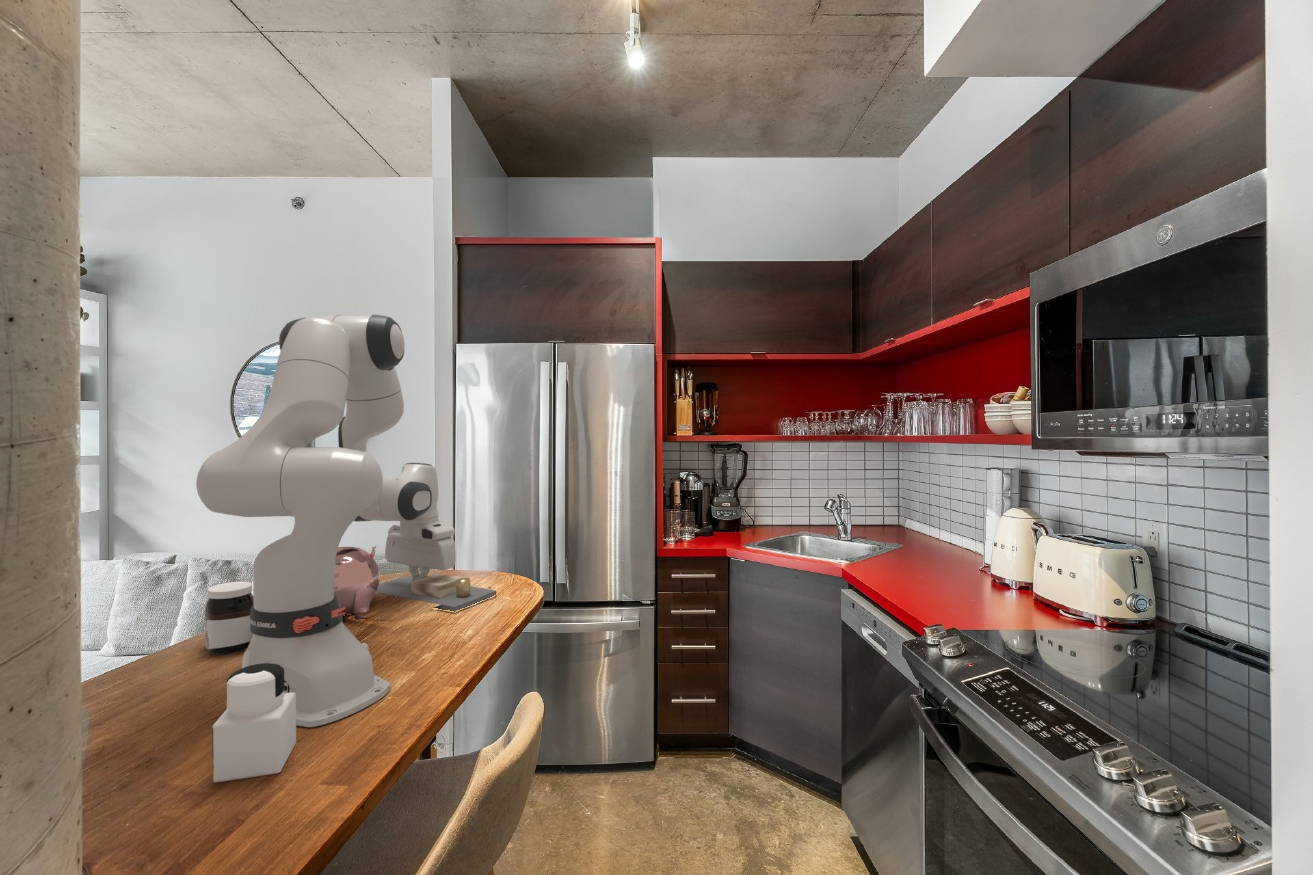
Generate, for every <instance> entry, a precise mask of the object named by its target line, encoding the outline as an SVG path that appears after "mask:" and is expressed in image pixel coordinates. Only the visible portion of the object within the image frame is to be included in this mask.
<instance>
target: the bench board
mask: <svg viewBox="0 0 1313 875" xmlns="http://www.w3.org/2000/svg"><path fill="white" fill-rule="evenodd" d="M411 581H413V576H412V575H404V576H402V577H397V578H396V579H395V578H394V579H391V580H388V581H384V582H382V583H379V586H378V589H377V591H376V593H378V594H384V595H389V596H395V597H400V598H404V599H405V598H406V599H410V600H416V601H420V602H425V603H431V604H436V606H434V607H432V608H438V609H442V610H450V611H454V612H455V611H456V610H460V609H462V608H465V607H467V606H470V605H472V604H475V603H477V602H480V601H482V600H485V599H487V598H490V597H492V596H494V595H496V596H497V590H494V589H489V588H483V587H476V586H472V585H470V597H467V598H457V597H456V593H453V594H450V595H448V596H445V597H442V598H435V597H429V596H423V595H418V594H412V593H411Z"/></svg>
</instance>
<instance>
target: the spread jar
mask: <svg viewBox="0 0 1313 875" xmlns="http://www.w3.org/2000/svg"><path fill="white" fill-rule="evenodd" d="M252 592H253V582H250V581H230V582H225V583H220V584H216V585H213V586H210V587H208V588H207V598H208V599H207V600H206V604H205V607H204V608H205V609H204V630H205V632H204V638H205V642H204V643H205V644H204V645H205V649H206V651H207V653H209V654H210V655H228V654H233V653H238V652H241V651H245V650H247V648H248V646H249V644H250V641H251V639H252V636H253V633H252V632H251V631H250V622H249V616H250V609H251V607H252V606H253V605H254V602H253V593H252Z"/></svg>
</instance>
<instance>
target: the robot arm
mask: <svg viewBox="0 0 1313 875" xmlns="http://www.w3.org/2000/svg"><path fill="white" fill-rule="evenodd" d="M278 338H279V339H278V341H279V342H278V345H279V350H280V352H279V355H278V357H277V358H278V359H277V362H276V367H275V370H274V374H273V379H272V380H273V381H272V384H271V388H270V392H269V394H268V397H267V401H266V404H265V406H264V409H263V411H262V413H261V414H260V416H259V417H258V419H257V420H256V421H255V423H253V424H252V426H251V427H250V428H249V429H248V430H247V431H246V432H245V433H244V434H243V435H242V436H241V437H239V438H238V439H236V440H235V441H234V442H232V443H231V444H228V445H227V446H226V447H224V448H222V449H220V450H218V451H215V452H214V453H212V454H210V455H209V456H208V458H206V460H204V461H203V463H202V465H201V466H200V467H199V470H198V473H197V475H196V483H195V484H196V490H197V494H198V496H199V499H200V501H201V503H202V504H203V505H204V506H205V508H207V509H208V511H211V512H213V513H217V514H223V515H227V516H228V515H229V516H234V517H235V516H236V517H242V518H263V517H266V518H267V517H268V518H269V517H292V518H293V517H294V524H293V529H292V532H291V533H290V534H287V535H285V536H283V537H281V538H279V539H277V540H275V541H274V542H271V543H269V544H268V545H267V546H265V547H264V548H262V549H261V550H260V551H259V552H258V554H257V555H256V557H255V559H254V561H253V564H252V576H253V577H252V578H253V579H252V580H253V581H252V592H253V593H252V595H253V602H254V605H253V606H252V607H251V609H250V616H249V622H250V631H251V632H252V633H253V636H252V639H251V641H250V644H249V646H248V648H247V649H245V650H244V654H243V656H242V665H241V669H242V668H244V667H247V666H251V665H255V664H261V663H271V664H278V665H280V666H282V667H283V668H284V693H292V692H294V693H295V694H296V726H298V727H305V728H315V727H319V726H323V725H326V724H330V723H332V722H336V721H339V720H342V719H343V718H345V717H346V718H347V717H348V716H351V715H353V714H355V713H357V712H359V711H361V710H363V709H365V708H367V707H370V706H371V705H373V704H374V703H376V702H377V701H379V700H380V699H381V698H383V697H384V696H386V695H387V694H388V693H389V692H390V690H391V683H390V681H388V680H386V679H384V678H382V677H380V676H379V675H376V674H374V673H375V672H374V671H375V670H374V662H373V658H372V655H371V653H370V648H369V645H368V644H367V643H366V642H360V641H359V639H358V638H357V637H356V636H355V635H354V633H352V632H351V631H350V630H349V628H347V626H346V625H345V623H343V619H344V618H343V616H345V615H344V614H346V613H341V611H343V610H344V609H346V608H345V607H343V608H340V604H339V603H338V600H337V597H336V596H335V595H334V579H335V563H336V554H337V549H338V547H340V542H341V540H342V538H343V536H344V534H345V533H346V532H347V530H348V528H349V526H351V524H352V523H353V522H359V523H360V522H372V521H374V522H375V521H379V522H399V524H398V525H397V524H394V525H392V526H390V528H389V529H388V531H387V537H386V542H385V551H384V559H385V560H386V562H387V563H394V564H398V565H406V566H408V570H409V573H410V576H412V577H413V580H416V579H419V578H422V577H426V576H429V575H428V574H429V573H430V570H431V569H432V570H437V571H446V570H450V569H453V567H454V566H455V565H456V559H457V557H456V554H457V553H456V542H455V540H454V538H453V537H454V536H455V528H454V527H453V526H452V525H449V524H448V523H446V522H445V521H442V520H441V519H439V511H438V508H437V505H438V500H439V480H438V474H437V470H436V466H434V465H432V464H430V463H425V462H424V463H422V462H407V463H403V465H402V468H401V473H400V475H398V476H397V477H395V478H392V479H387V478H386V479H384V478H383V472H382V471H383V470H382V469H381V466H380V464H379V463H378V461H377V459H376V458H374V456H373V455H372V454H371V453H370V452H368V451H367V443H368V441H369V439H371V438H374V437H376V436H379V435H381V434H383V433H385V432H387V431H389V430H390V429H392V428H394V427H395V426H396V425H397V424H398V423H399V422H400V420H401V419H402V416H403V415H404V411H405V403H404V397H403V393H402V387H401V384H400V380H399V379H400V378H399V375H398V373H397V369H396V367H397V366H398V365H399V364H400V362H401V361H402V360H403V358H404V355H405V344H406V343H405V337H404V334H403V332H402V328H401V327H400V325H399V324H398V322H396V321H395V320H394V319H393V318H392V317H390V316H388V315H387V316H386V315H379V314H371V315H354V314H352V315H351V314H349V315H348V314H346V315H342V314H332V315H330V314H329V315H324V316H323V315H321V316H310V317H300V318H297V319H294V320H291V321H289V322H287V323H286V324H285V325H284V327H283V328H282V329H281V331H280V332H279V337H278ZM345 408H346V412H345ZM344 415H345V416H344ZM337 427H338V431H337V432H338V433H337V436H338V437H337V438H338V439H337V441H338V446H335V447H334V446H332V447H331V446H329V447H328V446H325V447H323V446H322V447H321V446H318V447H317V446H316V447H313V446H311V447H307V445H308V444H310V443H312V441H314V440H316V439H318V438H319V437H322V436H324V435H327V434H329V433H330V432H332V431H334V430H335V429H336V428H337ZM342 615H343V616H342Z"/></svg>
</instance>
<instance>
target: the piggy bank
mask: <svg viewBox="0 0 1313 875" xmlns="http://www.w3.org/2000/svg"><path fill="white" fill-rule="evenodd" d="M375 549H377V545H375V546H372V547H371V552H370V553H369V552H368V551H366V550H365V549H364V548H363V549H362V548H360V547H354V546H338V549H337V554H336V563H335V579H334V595H335V596H336V597H337V600H338V603H339V604H340V608H343V607H345V608H346V609H344V610H343V611H341V613H346V614H344V615H342V617H343V616H346V615H350V614H353V618H354V619H355V620H358V621H359V620H364V619H365V620H366V619H368V618H369V616H365V615H361V614H362V613H367V612H368V611H370V610H371V609H370V604H371V602H372V600H373V598H374V597H375V595H376V593H377V592H376V591H377V589H378V586H379V584H380V580H381V575H380V574H381V573H380V569H379V566H378V563H377V562H376V560H375V558H374V557H375V555H376V550H375Z"/></svg>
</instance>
